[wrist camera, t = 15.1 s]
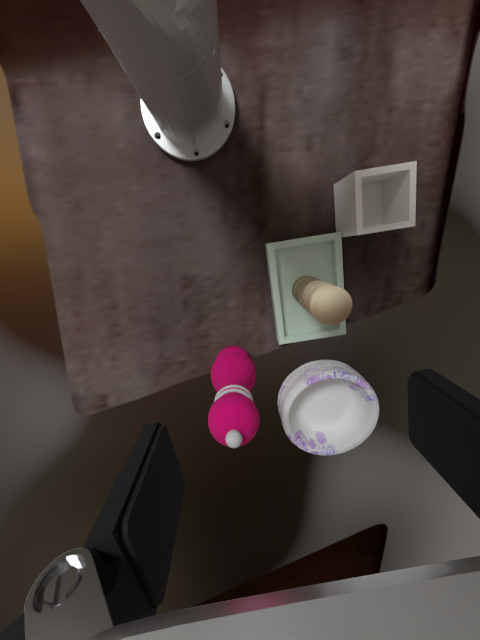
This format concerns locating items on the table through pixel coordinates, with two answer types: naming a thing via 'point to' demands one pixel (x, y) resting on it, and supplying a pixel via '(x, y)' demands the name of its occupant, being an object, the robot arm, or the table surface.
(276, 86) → the table surface
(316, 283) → the beige ringed cylinder
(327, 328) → the tray
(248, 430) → the pepper mill
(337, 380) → the paper bowls
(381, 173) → the box
